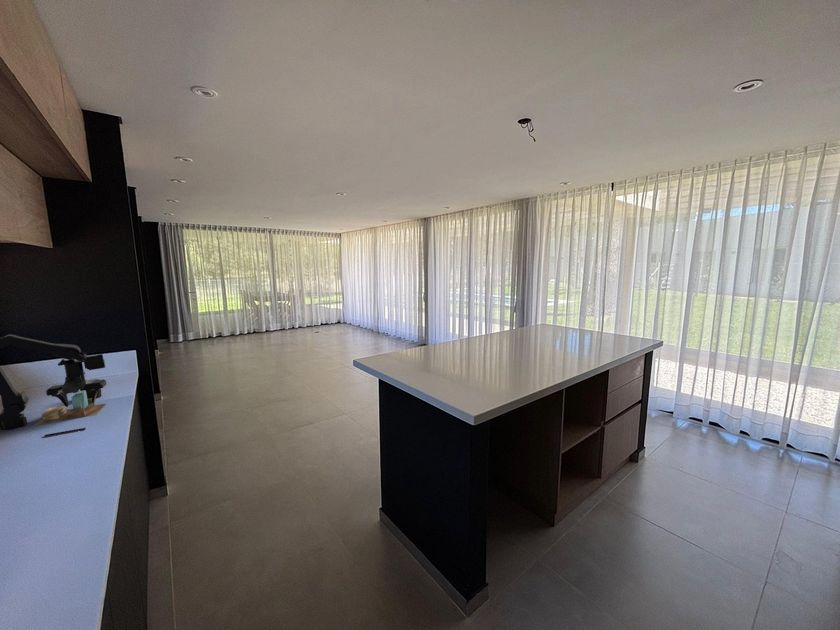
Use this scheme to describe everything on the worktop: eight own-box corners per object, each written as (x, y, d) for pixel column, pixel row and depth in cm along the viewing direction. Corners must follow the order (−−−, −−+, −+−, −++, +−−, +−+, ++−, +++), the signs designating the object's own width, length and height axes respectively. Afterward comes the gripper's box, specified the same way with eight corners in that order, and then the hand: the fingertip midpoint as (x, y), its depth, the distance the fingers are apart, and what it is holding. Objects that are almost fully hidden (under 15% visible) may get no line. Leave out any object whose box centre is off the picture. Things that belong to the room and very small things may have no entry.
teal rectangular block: (74, 416, 151) (71, 397, 149) (81, 409, 158) (78, 391, 156) (82, 415, 152) (78, 396, 150) (88, 408, 159) (85, 390, 157)
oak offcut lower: (43, 420, 146) (42, 417, 146) (51, 414, 152) (50, 411, 152) (59, 418, 149) (58, 415, 148) (66, 412, 155) (65, 408, 154)
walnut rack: (35, 428, 143) (32, 416, 142) (50, 414, 155) (48, 403, 154) (97, 418, 152) (95, 406, 151) (107, 406, 164) (105, 395, 163)
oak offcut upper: (42, 417, 146) (41, 414, 146) (49, 411, 152) (49, 408, 152) (57, 415, 149) (57, 411, 148) (64, 408, 155) (64, 405, 154)
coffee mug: (85, 398, 173) (82, 380, 171) (107, 395, 177) (104, 377, 175) (74, 407, 163) (70, 388, 161) (97, 404, 166) (94, 385, 165)
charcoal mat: (43, 438, 135) (42, 436, 135) (56, 426, 145) (55, 425, 145) (83, 430, 141) (82, 429, 141) (92, 419, 150) (92, 418, 150)
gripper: (36, 381, 140) (43, 416, 143) (95, 374, 149) (101, 407, 152) (49, 373, 150) (55, 406, 152) (104, 367, 159) (109, 398, 161)
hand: (80, 404), depth 154 cm, fingers open, 9 cm apart
